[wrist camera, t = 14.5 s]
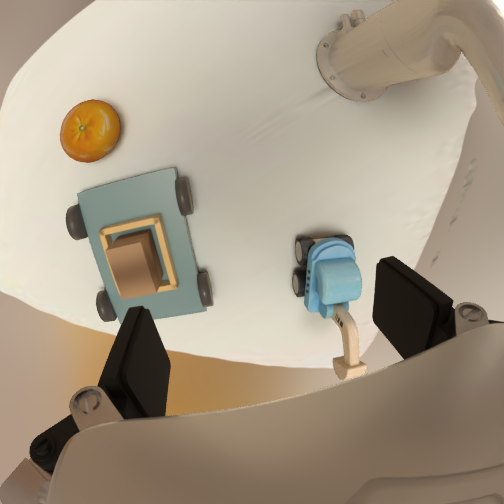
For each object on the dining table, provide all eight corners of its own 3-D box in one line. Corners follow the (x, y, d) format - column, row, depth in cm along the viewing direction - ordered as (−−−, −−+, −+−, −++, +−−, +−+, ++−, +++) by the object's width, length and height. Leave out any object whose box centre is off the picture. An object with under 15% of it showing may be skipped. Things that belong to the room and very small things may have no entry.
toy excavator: (289, 321, 48) (320, 393, 32) (294, 229, 42) (341, 280, 26) (333, 315, 49) (375, 379, 33) (344, 227, 43) (408, 272, 27)
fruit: (136, 138, 31) (85, 127, 24) (101, 176, 35) (55, 173, 27) (123, 96, 32) (79, 82, 24) (92, 133, 35) (50, 126, 28)
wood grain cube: (119, 235, 36) (104, 250, 31) (150, 228, 37) (140, 242, 31) (133, 279, 39) (122, 299, 34) (163, 273, 39) (156, 293, 34)
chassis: (75, 193, 35) (59, 200, 30) (185, 164, 36) (181, 166, 32) (116, 318, 43) (108, 335, 39) (215, 302, 45) (215, 320, 40)
